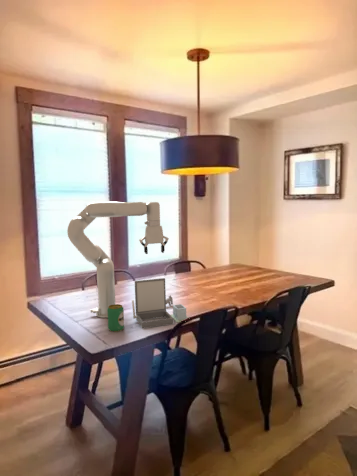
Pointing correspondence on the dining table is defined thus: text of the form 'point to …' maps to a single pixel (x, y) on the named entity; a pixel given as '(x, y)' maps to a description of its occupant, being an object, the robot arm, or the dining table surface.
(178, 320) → the mat
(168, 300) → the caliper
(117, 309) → the beverage can
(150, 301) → the equipment case
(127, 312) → the dining table surface
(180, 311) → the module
